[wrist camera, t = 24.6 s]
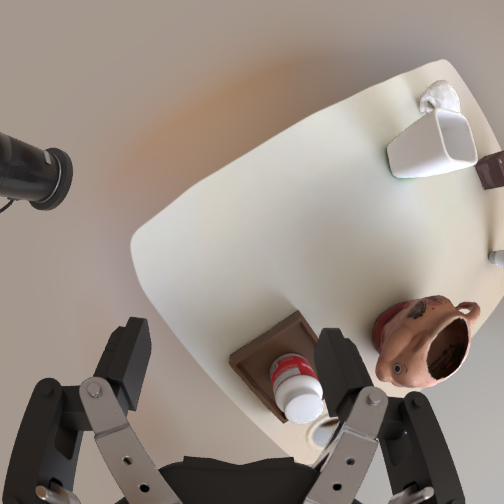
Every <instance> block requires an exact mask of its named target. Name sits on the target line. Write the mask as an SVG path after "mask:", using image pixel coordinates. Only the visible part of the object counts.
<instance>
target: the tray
mask: <svg viewBox="0 0 504 504" xmlns="http://www.w3.org/2000/svg"><path fill="white" fill-rule="evenodd" d="M317 342H318V337H317V336H316V334H315V333H314V332H313V330H312V329H311V327H310V326H309V324H308V323H307V321H306V320H305V319H304V317H303V316H302V314H301V313H300V312H299V311H296V312H295V313H293V314H292V315H291V316H289V317H288V318H286V319H285V320H283V321H282V322H280V323H279V324H278V325H276V326H275V327H273V328H272V329H270V330H269V331H267V332H266V333H264V334H263V335H261V336H260V337H258V338H257V339H255V340H253V341H252V342H250V343H249V344H247V345H246V346H244V347H243V348H241V349H239V350H238V351H236V352H235V353H233V354H231V355H230V361H229V365H230V366H231V367H232V368H233V369H234V371H235V372H236V373H237V374H238V375H239V376H240V377H241V379H242V380H243V381H244V382H245V383H246V384H247V385H248V387H249V388H250V389H251V390H252V391H253V392H254V393H255V394H256V395H257V397H258V398H259V399H260V400H261V401H262V402H263V403H264V404H265V405H266V406H267V407H268V408H269V409H270V410H271V411H272V413H273V414H274V415H275V416H276V417H277V418H278V419H279V420H280V421H281V422H282V423H283V424H284V423H285V422H287V421H289V420H288V419H287V418H286V416H285V413H284V412H283V411H281V410H280V409H279V407H278V406H277V404H276V401H275V396H274V391H273V386H272V382H271V377H270V369H271V366H272V364H273V362H274V361H275V360H276V359H277V358H279V357H280V356H282V355H285V354H289V353H295V354H299V355H301V356H303V357H304V358H305V359H306V360H307V361H308V363H309V364H310V366H311V368H312V370H313V372H314V374H315V376H316V377H317V379H318V381H319V377H318V374H317V370H316V367H315V364H314V350H315V348H316V345H317ZM319 383H320V381H319ZM320 385H321V384H320ZM322 392H323V391H322ZM324 399H325V398H324V395H323V394H322V399H321V400H324Z"/></svg>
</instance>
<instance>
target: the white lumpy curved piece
mask: <svg viewBox="0 0 504 504" xmlns="http://www.w3.org/2000/svg"><path fill="white" fill-rule="evenodd" d="M428 101H429V102H430V103H431V104H432V105H433V106H434V109H436V108H444V109H448V110H451V111H455V112H459V113H460V103H459V98H458V95H457V93H456V91H455V89H454V88H453V87H452V85H451V84H450V83H449V82H448V81H447V80H440V81H436V82H434V83H433V84H432V85H430V86H429V87H428V88H427V89H426V90H425V91H424V93H423V95H422V97H421V101H420V107H419V108H420V111H421V112H424V111H425V110H426V111H427V113H429V112H431V111H432V110H433V109H430V108H429V107H428Z"/></svg>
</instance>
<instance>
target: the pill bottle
mask: <svg viewBox="0 0 504 504" xmlns="http://www.w3.org/2000/svg"><path fill="white" fill-rule="evenodd" d="M270 377H271V382H272V386H273V391H274V396H275V401H276V404H277V406H278V407H279V409H280V410H281V411H283V412H284V413H285V416H286V418H287V419H288V420H289V421H291V422H293V423H297V424H303V423H308V422H311V421H313V420H314V419H316V418H317V417H318V416H319V415H320V414H321V412H322V410H323V402H322V400H321V399H322V394H323V392H322V388H321V385H320V383H319V381H318V379H317V377H316V376H315V374H314V372H313V370H312V368H311V366H310V364H309V363H308V361H307V360H306V359H305V358H304V357H303V356H301V355H299V354H295V353H289V354H285V355H282V356H280V357H279V358H277V359H276V360H275V361H274V362H273V364H272V366H271V369H270Z"/></svg>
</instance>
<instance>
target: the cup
mask: <svg viewBox="0 0 504 504" xmlns="http://www.w3.org/2000/svg"><path fill="white" fill-rule="evenodd" d="M387 153H388V158H389V163H390V169H391V172H392V174H393V175H394V176H395V177H398V178H416V177H425V176H432V175H437V174H442V173H447V172H450V171H454V170H458V169H462V168H466V167H469V166H473V165H475V164H476V163H477V159H478V156H477V150H476V146H475V142H474V139H473V135H472V131H471V128H470V125H469V123H468V121H467V119H466V118H465V117H464V116H463V115H462V114H461V113H459V112H455V111H451V110H448V109H444V108H436V109H434V110H432V111H431V112H429V113H428V114H426V115H424V116H423V117H421V118H420V119H418V120H417V121H416V122H414V123H413V124H411V125H410V126H409V127H408V128H406V129H405V130H404V131H402V132H401V133H400V134H399V135H398V136H397V137H396V138H395V139H394V140H393V141H392V142H391V143H390V144H389V145H388V146H387Z"/></svg>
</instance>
